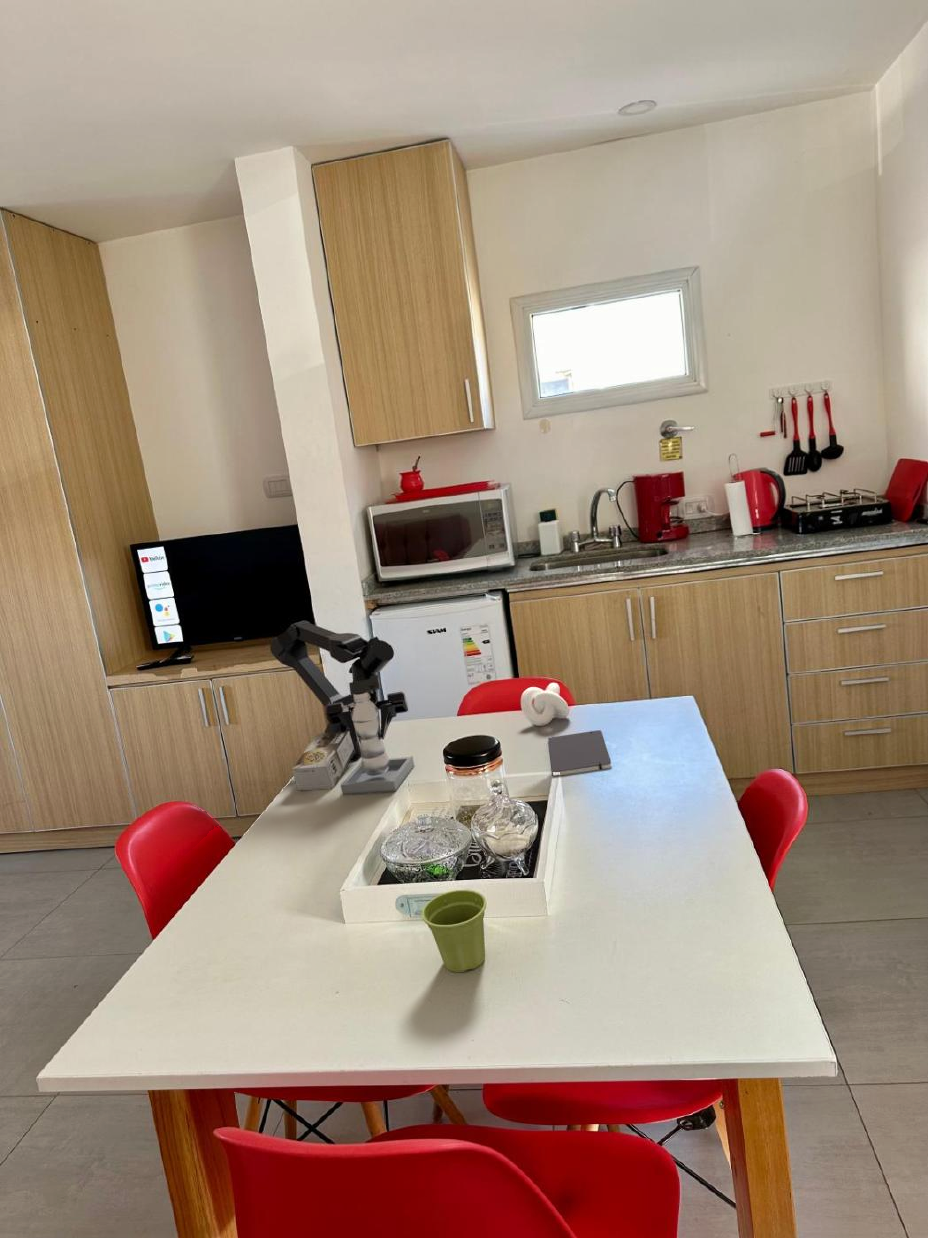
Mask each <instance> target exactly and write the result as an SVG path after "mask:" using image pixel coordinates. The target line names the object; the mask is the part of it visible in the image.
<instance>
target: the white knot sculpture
mask: <svg viewBox="0 0 928 1238" xmlns="http://www.w3.org/2000/svg"><path fill="white" fill-rule="evenodd" d="M560 690H561V689H560V686H559V684H558V683H557V682H556V683H555V682H550V683H549V684H548V685H547V687H546V689H545V690H543V689H542V688H539V687H536V686H531V687H528V688H526V689H525V690H524V691H523V692H522V694H521V697H520V708H521V710H522V713H523V715H524V717H525V718H526V720H527V721H529V723H531V724H533V725H534V726H537V727H538V726H539V727H542V726H546V725H548V724H549V723H551V721H552V720H553V719H554V717H555V718H556V719H560V720H563V719H567V717H568V716H570V708H569V705H568V703H567V701H566V700H564V698H563V697H562V696H560Z"/></svg>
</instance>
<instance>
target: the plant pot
mask: <svg viewBox="0 0 928 1238" xmlns="http://www.w3.org/2000/svg"><path fill="white" fill-rule="evenodd" d="M486 908H487V900H486V897H485V896H484V895H483V894H482V893H480V892H479V891H475V890H471V889H455V890H451V891H447V892H444V893H441V894H439V895H437V896H435V897H433V898H432V899H431V900H429V901H428V902H427V903H426V904H425V905H424V906H423V908H422V910H421V917H422V921H423V922H424V923H425V924H426V925H427V926H428V928H429V930H430V931H431V933H432V936H433V939H434V941H435V944H436V946H437V949H438V951H439V955H440V957H441V959H442V962H443V965H444V967H445V968H446V969H447V970H448V971H450V972H453V973H464V972H466V971H467V970H475V969H477V968H478V967H479V966H481V965H482V964H483V963H484V961H485V960H486V946H485V944H486V943H485V925H484V917H485V910H486Z"/></svg>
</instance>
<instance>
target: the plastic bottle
mask: <svg viewBox="0 0 928 1238" xmlns="http://www.w3.org/2000/svg"><path fill="white" fill-rule="evenodd" d="M353 695H354V702H356V704H355V706H354V708H353V711H352V721H353V723H354V726H355V729H356V731H357V735H358V739H359V744H360V749H361V757H360V759H361V760H360V761H361V762H360V763H362V768H363V771H364V772H365V773H366V774H367V775H369V776H375V775H379V774H382V773H384V772H386V771H387V770H388V768H389V759H390V757H389V755H388V752H387V751H386V748H385V745H384V741H383V740H384V739H383V740H382V738H381V716H380V710H378V708H377V707H376V706H375V705H374V704H373V703H372V702H371V701H370V695H369V693H368V692H366V693H363V694H359V695H355V694H353Z"/></svg>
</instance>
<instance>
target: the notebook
mask: <svg viewBox="0 0 928 1238" xmlns="http://www.w3.org/2000/svg"><path fill="white" fill-rule="evenodd" d="M547 740H548V741H547V742H548V748H549V755H550V765H551V771H552V772H560V774H561V775H563V776H564V775H571V774H576V773H577V774H578V773H583V772H591V771H595V770H603V769H610V768H611V767H612V764H611V763H612V761H611V757H610V754H609V751H608V748H607V746H606V741H605V738H604V735H603V732H602V730H601V729H596V730H589V731H585V732H578V733H572V734H571V733H570V734H563V735H558V736H552V737H547ZM552 772H551V773H552ZM561 775H560V776H561Z"/></svg>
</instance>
